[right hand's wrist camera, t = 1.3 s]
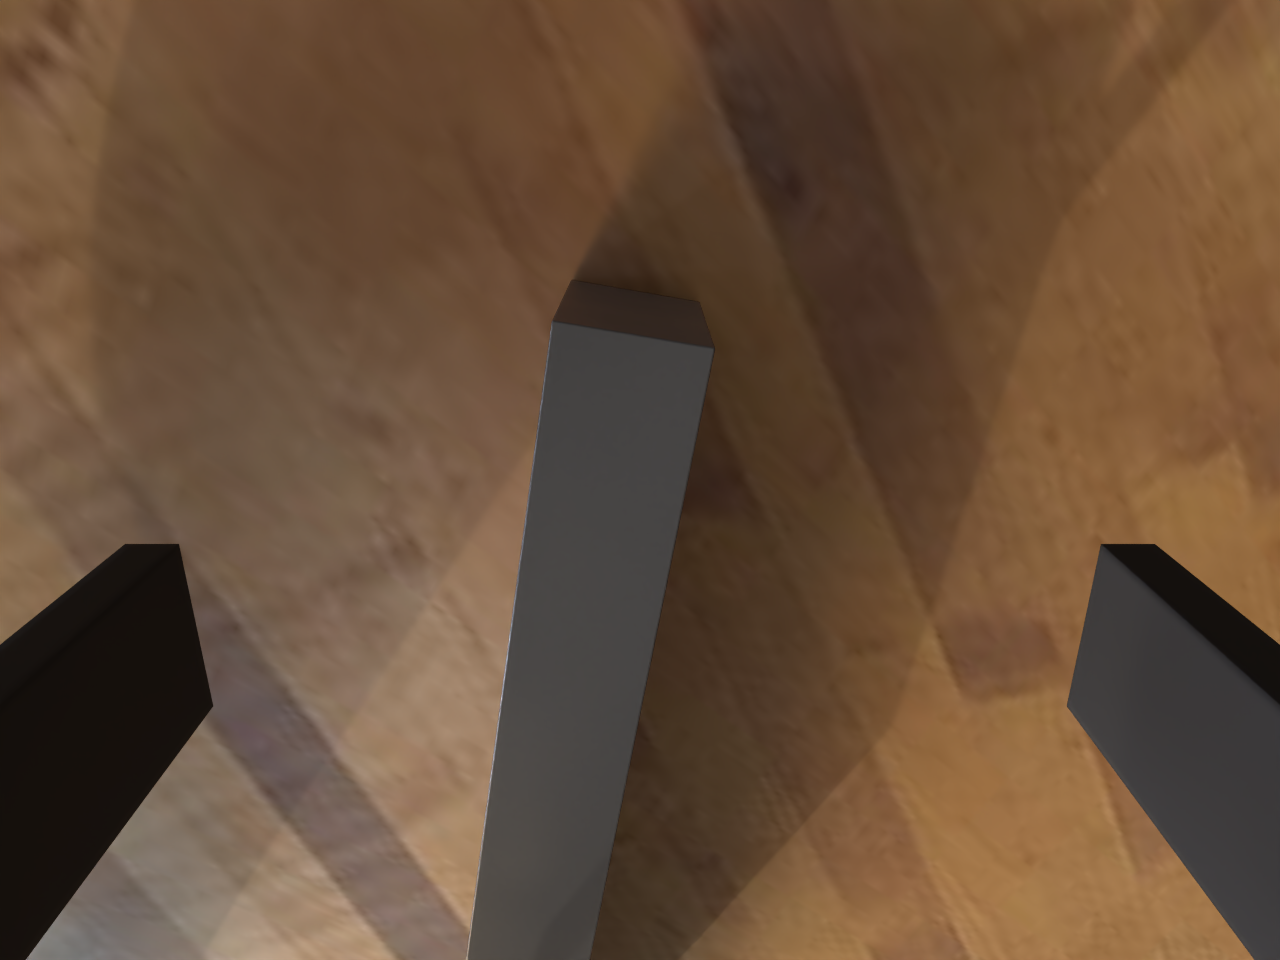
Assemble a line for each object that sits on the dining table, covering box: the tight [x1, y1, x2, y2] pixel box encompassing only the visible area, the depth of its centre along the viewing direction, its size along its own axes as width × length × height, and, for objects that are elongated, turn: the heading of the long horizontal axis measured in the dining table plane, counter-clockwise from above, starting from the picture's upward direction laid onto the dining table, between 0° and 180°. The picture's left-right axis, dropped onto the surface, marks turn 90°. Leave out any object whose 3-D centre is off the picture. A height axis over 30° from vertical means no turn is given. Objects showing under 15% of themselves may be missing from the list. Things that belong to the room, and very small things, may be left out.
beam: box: [466, 280, 715, 960], centre depth 42 cm, size 51×5×8 cm, turn 170°
